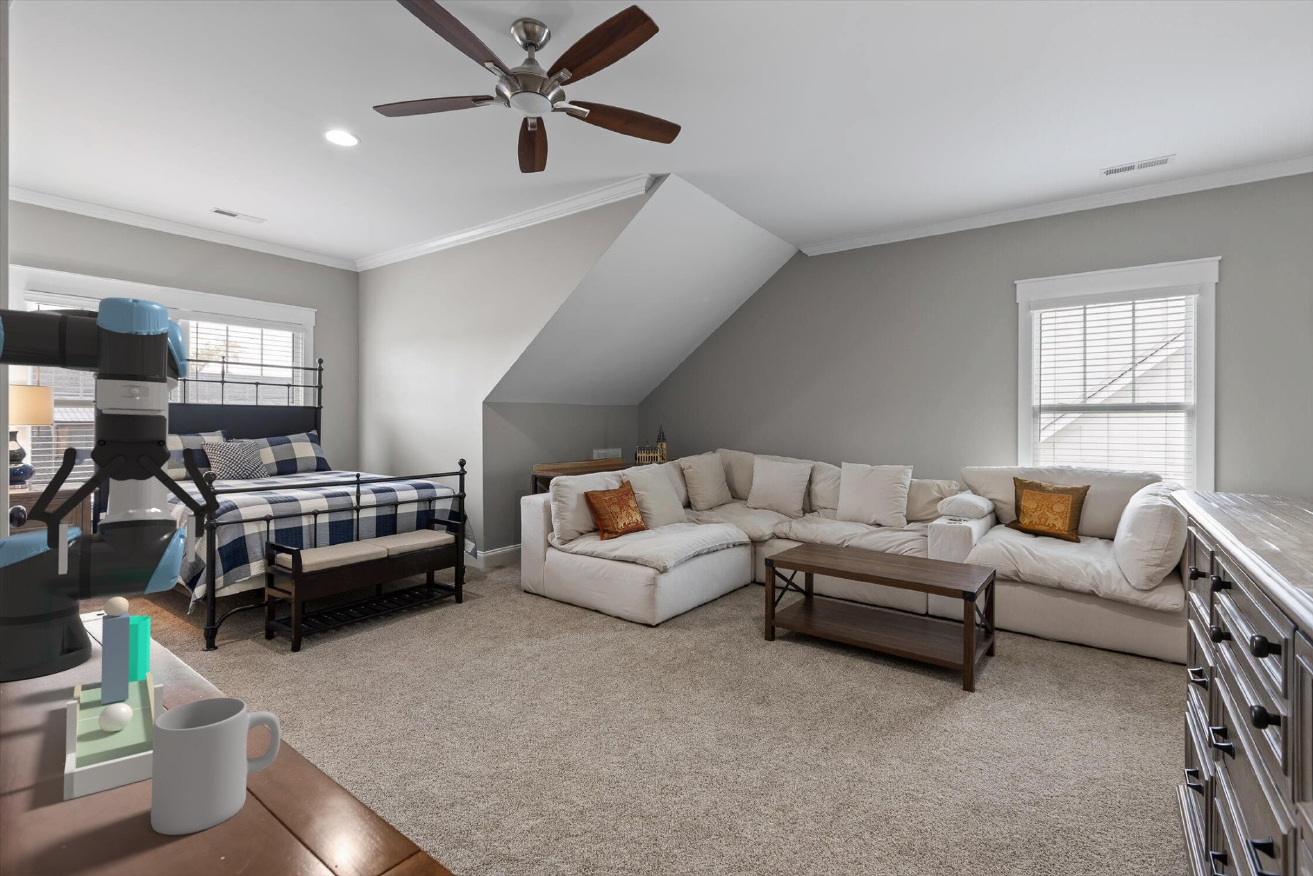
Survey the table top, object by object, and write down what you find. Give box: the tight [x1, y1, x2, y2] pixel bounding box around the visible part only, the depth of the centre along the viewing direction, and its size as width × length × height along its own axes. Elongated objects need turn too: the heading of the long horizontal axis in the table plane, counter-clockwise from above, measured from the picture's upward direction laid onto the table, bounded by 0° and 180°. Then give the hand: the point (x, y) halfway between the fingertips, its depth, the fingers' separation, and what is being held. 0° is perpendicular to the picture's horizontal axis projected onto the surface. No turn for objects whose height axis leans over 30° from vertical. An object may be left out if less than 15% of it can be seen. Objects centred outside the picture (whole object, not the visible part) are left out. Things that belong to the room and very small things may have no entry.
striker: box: [100, 596, 131, 704], centre depth 93 cm, size 3×3×15 cm
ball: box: [98, 703, 133, 732], centre depth 84 cm, size 4×4×4 cm
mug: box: [150, 697, 281, 836], centre depth 72 cm, size 12×8×11 cm
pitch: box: [72, 671, 155, 769], centre depth 89 cm, size 25×9×3 cm, turn 41°
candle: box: [126, 610, 151, 682], centre depth 104 cm, size 6×6×12 cm
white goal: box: [63, 683, 164, 802], centre depth 77 cm, size 6×9×9 cm
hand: (129, 566), depth 89 cm, fingers open, 13 cm apart
